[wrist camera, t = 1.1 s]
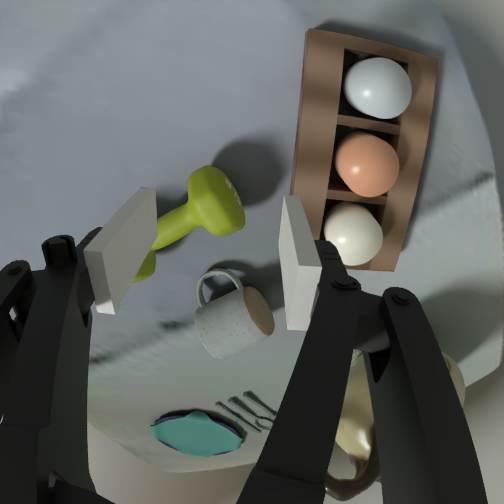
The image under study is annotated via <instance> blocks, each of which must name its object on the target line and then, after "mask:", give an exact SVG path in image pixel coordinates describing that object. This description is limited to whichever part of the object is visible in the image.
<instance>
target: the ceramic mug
mask: <svg viewBox="0 0 504 504" xmlns="http://www.w3.org/2000/svg"><path fill="white" fill-rule="evenodd" d="M221 274H222V275H226V276H228V277H229V278H231V280H232V281H233V282H234V283H235V285H236V287H237V288H238V289H236V290H234V291H232V292H230V293H228V294H226V295H224V296H222V297H219V298H217V299H215V300H212V301H210V302H208V303H206V302H205V299H204V296H203V291H202V284H203V281H204V280H205V279H206V278H209V277H211V276H213V275H218V276H219V275H221ZM197 298H198V301H199V304H200V307H199V308H197V310H196V312H195V326H196V330H197V333H198V335H199V338H200V339H201V341H202V343H203V345H204V346H205V348H206V349H207V350H208V351H209V353H210V354H211V355H213V356H214V357H216V358H217V359H220V360H224V359H227V358H229V357H231V356H233V355H235V354H237V353H239V352H241V351H243V350H245V349H247V348H249V347H251V346H253V345H255V344H257V343H259V342H261V341H263V340H265V339H266V338H267V337H269V336H270V335H271V334H272V333H273V331H274V327H275V324H274V318H273V315H272V312H271V310H270V308H269V306H268V304H267V302H266V300H265V299H264V297H263V296H262V295H261V293H260V292H259V291H258V290H257V289H255V288H253V287H250V286H246V287H243V286H242V284H241V281H240V280H239V279H238V277H237V276H236V275H235V274H234V273H232V272H231V271H229V270H227V269H223V268H216V269H213V270H210V271H208V272H207V273H205V274H204V275H202V276H201V277H200V279H199V281H198V284H197Z"/></svg>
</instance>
